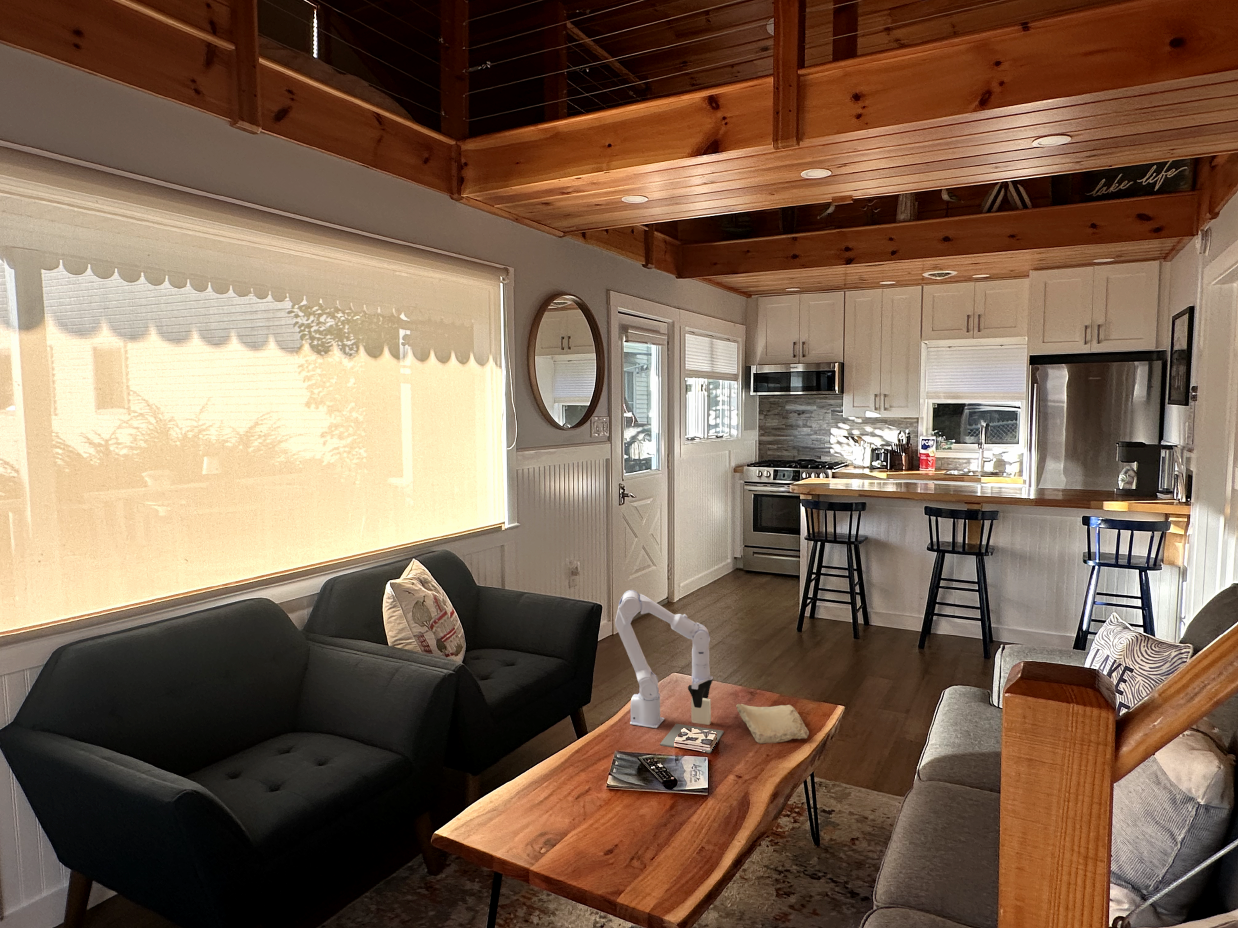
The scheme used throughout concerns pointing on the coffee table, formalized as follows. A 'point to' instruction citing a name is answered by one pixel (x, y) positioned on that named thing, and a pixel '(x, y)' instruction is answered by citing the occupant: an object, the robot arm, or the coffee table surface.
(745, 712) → the small cream pillow
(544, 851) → the coffee table surface
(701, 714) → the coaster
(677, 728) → the mat
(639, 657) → the robot arm
